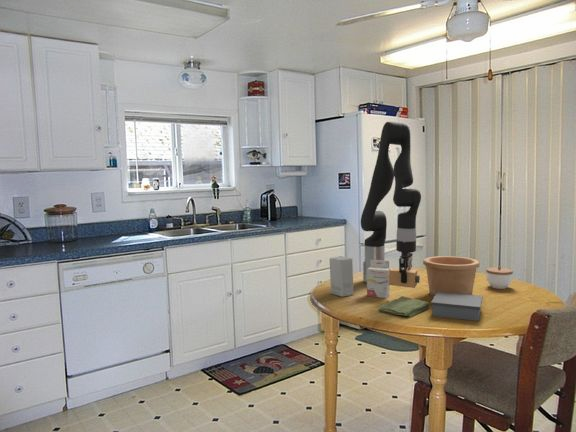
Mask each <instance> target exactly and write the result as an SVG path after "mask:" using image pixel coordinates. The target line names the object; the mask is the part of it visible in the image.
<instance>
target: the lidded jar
mask: <svg viewBox="0 0 576 432" xmlns="http://www.w3.org/2000/svg"><path fill="white" fill-rule="evenodd" d="M485 271H486V274H485V275H486V276H485V277H486V281H487V283H488V284H489V285H490V287H491V288H493V289H498V290H499V289H501V290H503V289H504V290H505V289H507V288H508V287H509V286H510V285H511V284H512V282H513V275H514V270H513V269H510V268H507V267H502V266H501V265H498V267H496V266H495V267H487V268H486V269H485Z"/></svg>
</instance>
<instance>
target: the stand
mask: <svg viewBox="0 0 576 432" xmlns="http://www.w3.org/2000/svg"><path fill="white" fill-rule="evenodd" d="M483 299H484V297H483V295H479V294H472V295H469V294H458V293H447V292H437V293H436V295H435V297H434V296H433V298H432V300H431V302H430V305H431V306H432V316H433V317H439V318H441V317H442V318H447V319H448V318H449V319H458V320H467V321H475V322H476V321H477V322H479V320H480V315H481V312H482V311H481V310H482V302H483Z"/></svg>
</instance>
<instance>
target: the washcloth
mask: <svg viewBox="0 0 576 432" xmlns="http://www.w3.org/2000/svg"><path fill="white" fill-rule="evenodd" d="M430 305H431V303H430V302H427V301H425V300H420V299H415V298H414V299H413V298H412V297H407V296H402V295H401V296H400V297H399V298H395V299H393V300H391V301H389V302H386V303H384V304H382V305H381V306H379V308H377V309H378V311H380V312H382V313H386V314H390V315H394V316H395V315H396V316H401V317H405V318H413V317H414V316H417V315H418V314H420V313H422V312H425V311H426V310H428V309H429V308H430Z"/></svg>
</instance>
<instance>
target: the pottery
mask: <svg viewBox="0 0 576 432" xmlns="http://www.w3.org/2000/svg"><path fill="white" fill-rule="evenodd" d="M422 264H423V265H424V266H425V269H426V276H427V277H426V278H427V283H428V284H427V285H428V291H429V295H430V296H432V297H433V298H434V297H435V295H436V293H437V292H447V293H458V294H469V295H473V293H474V292H473V290H474V286H475V285H474V284H475V279H476V272H477V268H479V267H480V260H477V259H474V258H471V257H464V256H453V255H440V256H439V255H438V256H437V255H435V256H428V257H426V258H424V259H423V261H422Z"/></svg>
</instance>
